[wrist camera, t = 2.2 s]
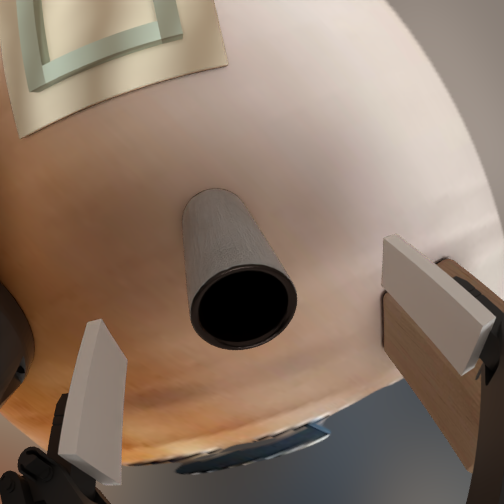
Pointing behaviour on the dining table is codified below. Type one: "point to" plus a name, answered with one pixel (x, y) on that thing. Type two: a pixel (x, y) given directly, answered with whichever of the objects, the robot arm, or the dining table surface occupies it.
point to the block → (438, 371)
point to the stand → (99, 51)
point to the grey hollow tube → (233, 274)
